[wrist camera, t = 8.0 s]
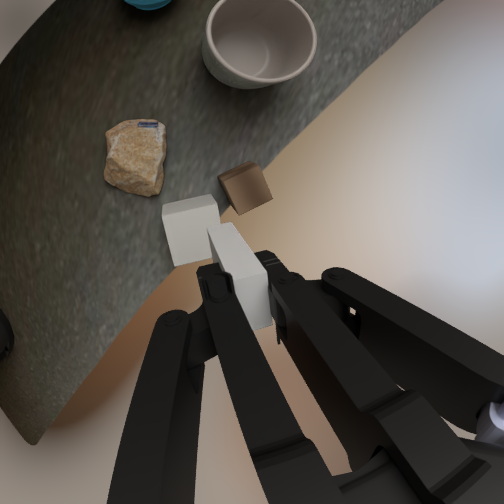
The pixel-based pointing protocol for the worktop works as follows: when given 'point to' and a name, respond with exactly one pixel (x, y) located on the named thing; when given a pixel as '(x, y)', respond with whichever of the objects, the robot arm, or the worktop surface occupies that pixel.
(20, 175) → the worktop surface
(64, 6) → the worktop surface
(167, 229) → the block
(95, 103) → the worktop surface
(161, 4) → the perfume bottle
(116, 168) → the stone
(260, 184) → the walnut block
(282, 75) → the planter
